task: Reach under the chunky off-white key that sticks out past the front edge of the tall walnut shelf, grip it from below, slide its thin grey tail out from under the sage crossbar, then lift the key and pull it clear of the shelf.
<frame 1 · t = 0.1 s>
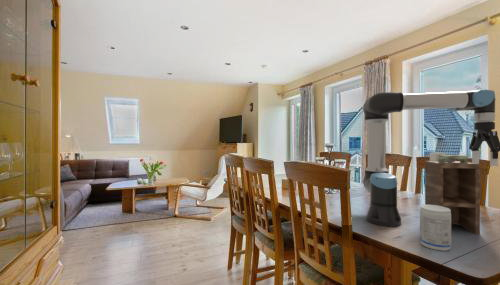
hand: (484, 164, 124), 28 cm above the table, tool pointing down, fingers open, 13 cm apart
supplement tub: (435, 246, 94), on the table
shelf: (450, 227, 114), on the table
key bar: (442, 161, 121), point 30 cm above the table, touching shelf
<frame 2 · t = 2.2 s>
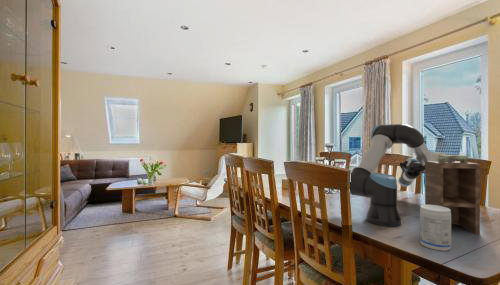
hand: (423, 159, 141), 29 cm above the table, tool pointing upward, fingers open, 13 cm apart
nothing on the table moved.
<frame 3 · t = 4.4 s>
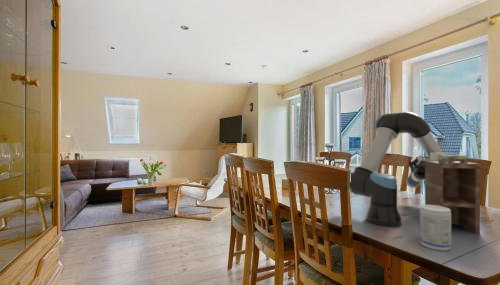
hand: (435, 157, 129), 31 cm above the table, tool pointing upward, fingers open, 13 cm apart
nothing on the table moved.
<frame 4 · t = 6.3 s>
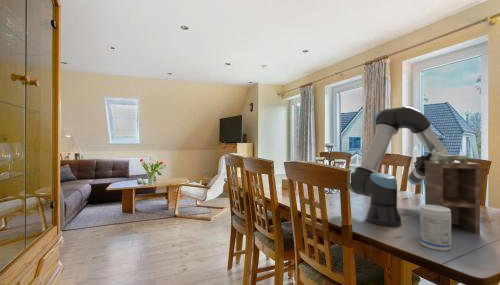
hand: (440, 151, 122), 35 cm above the table, tool pointing upward, fingers closed on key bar, 4 cm apart
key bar: (442, 161, 121), point 30 cm above the table, touching gripper, shelf
everything else where it was.
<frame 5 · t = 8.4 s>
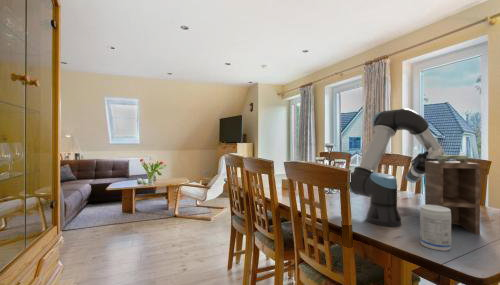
hand: (436, 149, 126), 35 cm above the table, tool pointing upward, fingers closed on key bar, 4 cm apart
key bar: (438, 159, 125), point 31 cm above the table, touching gripper
everything else where it was.
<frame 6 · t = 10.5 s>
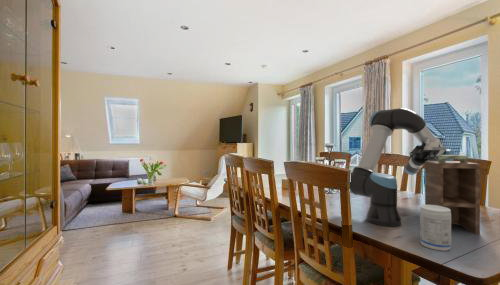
hand: (433, 140, 129), 40 cm above the table, tool pointing upward, fingers closed on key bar, 4 cm apart
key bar: (435, 149, 128), point 35 cm above the table, touching gripper
everything else where it was.
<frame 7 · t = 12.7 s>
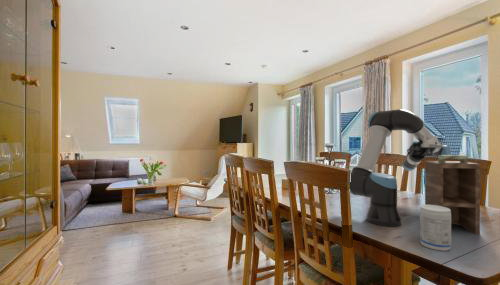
hand: (430, 138, 132), 41 cm above the table, tool pointing upward, fingers closed on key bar, 4 cm apart
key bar: (432, 147, 131), point 36 cm above the table, touching arm, gripper
everything else where it was.
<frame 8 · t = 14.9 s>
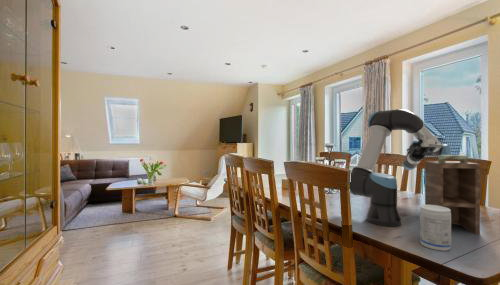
hand: (430, 137, 132), 41 cm above the table, tool pointing upward, fingers closed on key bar, 4 cm apart
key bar: (432, 146, 131), point 37 cm above the table, touching arm, gripper
everything else where it was.
at the end: the gripper is holding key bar; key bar inside the target area (1.6 cm from its centre), point 36.7 cm above the table; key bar moved 12.4 cm from its start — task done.
